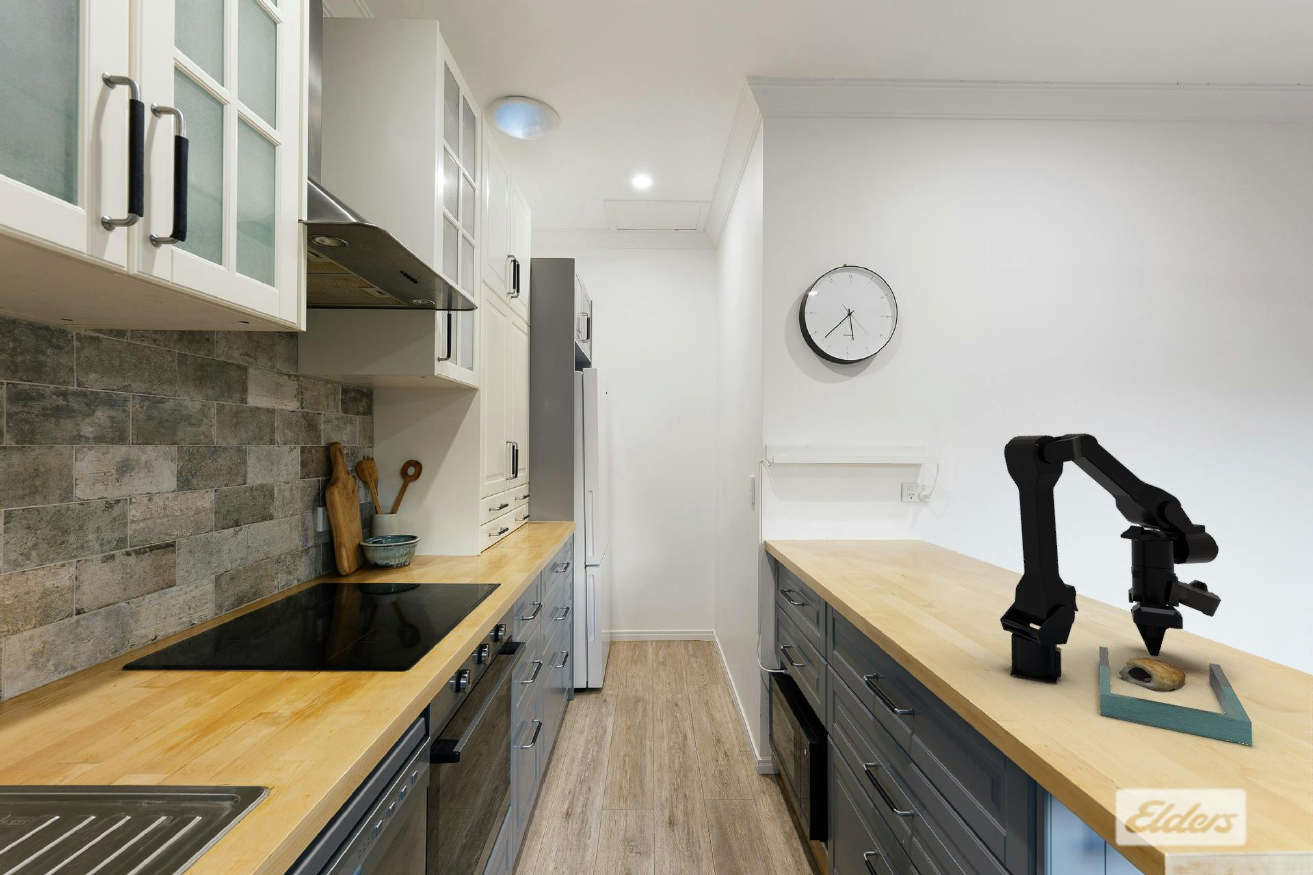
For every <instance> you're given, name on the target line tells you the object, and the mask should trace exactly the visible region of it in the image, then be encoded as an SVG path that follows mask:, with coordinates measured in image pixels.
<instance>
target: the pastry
mask: <svg viewBox="0 0 1313 875" xmlns="http://www.w3.org/2000/svg"><path fill="white" fill-rule="evenodd" d="M1119 675H1120V677H1121V678H1122V679H1123V681H1126V682H1128V683H1130V684H1134V685H1138V686H1141V687H1144V688H1148V689H1150V688H1151V689H1152V690H1153V691H1154V690H1155V691H1161V692H1166V691H1172V690H1173V689H1175V690H1177V688H1178V689H1179V688H1181V687H1180V686H1183V685H1184V684H1185V682H1186V676H1187V674H1186V673H1185V670H1183V669H1182V668H1180V667H1178V666H1175V665H1173V664H1171V663H1170V662H1166V661H1161V660H1157V659H1152V658H1149V657H1148V658H1147V657H1137V658H1133V659H1131V658H1130V659H1128V661H1126V663H1125V664H1124V665H1123V666H1122V668H1121V669H1120V670H1119Z"/></svg>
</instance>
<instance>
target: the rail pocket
mask: <svg viewBox="0 0 1313 875" xmlns="http://www.w3.org/2000/svg"><path fill="white" fill-rule="evenodd" d="M1098 651H1099V655H1098V656H1099V657H1098V658H1099V661H1098V662H1099V691H1100V693H1099V694H1100V700H1099V701H1100V716H1105V717H1108V718H1113V719H1118V720H1121V721H1122V720H1124V721H1127V722H1133V723H1137V724H1138V723H1139V724H1142V725H1143V724H1144V725H1147V726H1151V727H1157V728H1162V729H1166V730H1171V731H1176V732H1182V733H1187V734H1192V735H1196V736H1201V737H1205V738H1210V739H1215V738H1216V739H1215V740H1219V739H1220V740H1221V741H1224V740H1228V741H1227V742H1229V741H1232V742H1231V743H1234V742H1240V743H1244V744H1248V745H1247V746H1249V745H1252V746H1253V727H1252V726H1253V725H1252V723H1253V722H1252V720H1251V719H1250V717H1249V715H1248V713H1247V712H1246V709H1245V708H1244V706H1243V704H1242V703H1241V701H1240V699H1239V697H1238V695H1237V694H1236V692H1235V690H1234V688H1233V686H1232V685H1231V683H1230V681H1229V679H1228V677H1227V675H1226V674H1225V672H1224V671H1223V669H1222V667H1221V665H1220V664H1218V663H1217V664H1216V663H1211V662H1209V663H1208V664H1209V665H1208V667H1209V671H1208V674H1209V678H1208V679H1209V684H1210V685H1211V686H1210V687H1212V690H1213V692H1214V694H1215V696H1216V695H1217V696H1216V698H1217V697H1218V698H1217V700H1218V699H1219V701H1220V703H1219V704H1221V705H1220V706H1222V707H1221V708H1223V709H1222V711H1223V710H1224V711H1223V713H1221V712H1220V713H1219V712H1215V711H1211V710H1210V711H1209V710H1204V709H1201V708H1200V709H1198V708H1193V707H1189V706H1183V705H1178V704H1174V703H1173V704H1172V703H1167V702H1162V701H1161V702H1160V701H1158V700H1157V701H1156V700H1151V699H1145V698H1140V697H1134V696H1131V695H1126V694H1125V695H1123V694H1119V693H1114V692H1112V691H1111V688H1112V687H1111V678H1110V677H1111V675H1110V663H1109V662H1110V660H1109V647H1106V646H1105V647H1104V646H1100V645H1099V647H1098ZM1219 701H1218V702H1219ZM1224 712H1225V713H1224ZM1244 744H1243V745H1244Z"/></svg>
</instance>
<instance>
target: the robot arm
mask: <svg viewBox="0 0 1313 875" xmlns="http://www.w3.org/2000/svg"><path fill="white" fill-rule="evenodd" d="M1003 456H1004V460H1005V465H1006V469H1007V473H1008V474H1009V476H1010V478H1011V479H1012V481H1013V482H1014V484H1015V486H1016V488H1017V489H1018V490H1017V491H1018V498H1019V514H1020V527H1021V528H1020V529H1021V530H1020V531H1021V543H1022V544H1021V546H1022V558H1023V559H1022V560H1023V575H1022V576H1021V577H1020V580H1019V581H1018V583H1017V584H1016V586H1015V591H1014V601H1013V603H1012V604H1011V605H1010V606H1009V608H1008V609H1007V610H1006V611H1005V612H1004V613H1003V615H1002V616H1001V617H1000V618H999V621H1000V625H1001V627H1002V630H1003V631H1005V632H1009V633H1011V636H1010V638H1011V640H1010V642H1011V644H1010V647H1011V669H1010V670H1009V675H1010V676H1013V677H1016V678H1017V677H1018V678H1024V679H1029V680H1034V681H1038V682H1039V681H1040V682H1044V683H1050V684H1058V679H1059V678H1062V648H1061V647H1058V646H1059V645H1060V646H1061V645H1067V643H1068V640H1069V637H1070V633H1071V630H1072V627H1073V624H1074V623H1075V620H1076V613H1077V612H1079V608H1078V606H1077V589H1076V587H1075V585H1071V584H1067V583H1065V582H1064V580H1063V578H1061V575H1060V567H1059V552H1058V538H1057V536H1058V535H1057V523H1056V522H1057V521H1056V508H1055V494H1054V493H1055V487H1056V485H1057V483H1058V481H1059V479H1060V478H1061V477H1062V474H1063V472H1064V463H1067V462H1072V463H1073V464H1074V465H1076V466H1077V467H1078V468H1079V469H1080V470H1082V472H1084V473H1085V474H1086V475H1087V476H1089V477H1090V478H1091V479H1092V480H1094V481H1095V482H1096V483H1097V484H1098V485H1100V486H1101V487H1102V488H1103V489H1104V490H1105V491H1106V492H1108V494H1110V495H1111V496H1112V497H1113V498H1114V501H1115V508H1116V509H1117V510H1118V511H1119V512H1120V514H1121V515H1122V516H1123V517H1124V518H1125V520H1127V521H1128V522H1129V523H1130V524H1134V525H1130V526H1129V528H1128V529H1126V530H1124V531H1122V532H1121V534H1120V538H1121V539H1124V540H1125V539H1126V540H1130V541H1131V543H1130V544H1131V546H1130V547H1131V548H1130V549H1131V550H1130V551H1131V567H1130V575H1131V587H1130V588H1129V589H1128V591H1127V592H1128V593H1127V594H1128V597H1127V598H1128V603H1129V604H1133V603H1135V604H1134V605H1132V608H1130V613H1131V617H1132V622H1133V623H1134V624H1135V626H1136V628H1137V630H1138V633H1139V635H1140V637H1141V638H1142V640H1143V642H1144V645H1145V647H1146V649H1147V651H1148V654H1149V655H1150V656H1151V657H1155V658H1157V657H1159V655H1160V652H1161V649H1162V645H1163V641H1164V638H1165V636H1166V631H1167V630H1168V629H1174V630H1183V629H1184V619H1183V615H1182V613H1181V612H1180V611H1179V610H1178V609H1177V608H1180V605H1183V606H1185V607H1188V608H1190V609H1193V610H1196V611H1198V612H1201V613H1202V614H1203V615H1204V616H1208V617H1211V618H1212V617H1214V616H1215V614H1216V612H1217V609H1219V605H1220V603H1221V602H1222V599H1221V597H1220V596H1219V595H1217V594H1216V593H1214V592H1212V591H1209V589H1208V585H1207V583H1206V582H1203V581H1200V580H1198V579H1194V580H1192V581H1191V582H1189V583H1187V582H1183V581H1180V580H1179V577H1178V576H1177V573H1176V572H1175V565H1190V564H1208V563H1210V562H1213V561H1215V560H1216V558H1217V557H1218V555H1219V550H1220V548H1219V545H1218V544H1217V541H1216V540H1215V539H1214V537H1213V536H1212V535H1211V534H1210V533H1208V532H1206V525H1205V524H1199V523H1198V524H1197V523H1193V522H1192V520H1191V518H1190V517H1189V516H1188V514H1187V513H1186V511H1185V510H1184V508H1183V507H1182V503H1181V501H1180V500H1179V499H1178V497H1176V496H1175V495H1173V494H1172V493H1170V492H1168V491H1167V490H1165V489H1163V488H1160V487H1158V486H1156V485H1153V484H1151V483H1147V482H1145V481H1144V480H1141V478H1139V477H1138V476H1137V475H1136V474H1134V473H1133V472H1132V471H1131V470H1130V469H1129V468H1128V467H1126V466H1125V465H1124V464H1123V462H1120V460H1119V459H1117V458H1116V457H1115V456H1114V455H1113V454H1111V453H1110V451H1108V450H1106V449H1105V448H1104V447H1103V446H1102V445H1101V444H1100V443H1099V441H1098V439H1097V438H1096V437H1095V436H1094V435H1092V434H1090V433H1086V432H1085V433H1066V434H1063V435H1059V436H1058V435H1057V436H1052V435H1047V434H1046V435H1045V434H1044V435H1042V434H1040V435H1039V434H1038V435H1017V436H1013V437H1012V438H1010V439H1009V441H1008V442H1007V443H1006V444H1005V446H1004V449H1003ZM1138 525H1139V526H1138ZM1031 625H1033V626H1036V627H1039V628H1036V627H1033V626H1031Z"/></svg>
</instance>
